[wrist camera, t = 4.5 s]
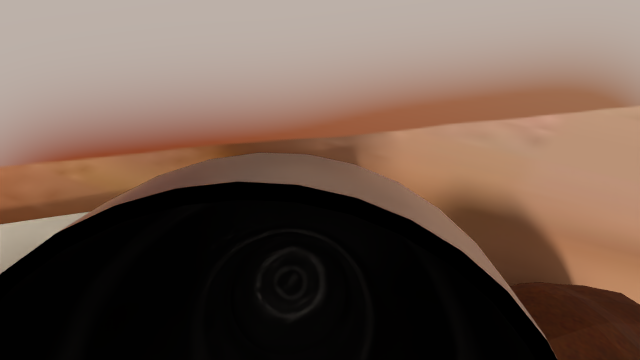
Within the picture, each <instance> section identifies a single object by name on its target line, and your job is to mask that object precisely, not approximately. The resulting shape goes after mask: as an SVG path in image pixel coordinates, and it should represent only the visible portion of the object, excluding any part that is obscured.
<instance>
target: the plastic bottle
mask: <svg viewBox="0 0 640 360" xmlns="http://www.w3.org/2000/svg"><path fill="white" fill-rule="evenodd" d="M0 360H558V359H557V357H556V356H555V354H554V352H553V350H552V348H551V346H550V345H549V343H548V341H547V339H546V337H545V335H544V334H543V332H542V331H541V330H540V328H539V327H538V325H537V324H536V323H535V321H534V320H533V318H532V317H531V316H530V314H529V313H528V312H527V310H526V309H525V307H524V306H523V305H522V303H521V302H520V300H519V299H518V298H517V296H516V295H515V293H514V292H513V291H512V289H511V288H510V287H509V285H508V284H507V283H506V281H505V280H504V279H503V277H502V276H501V275H500V273H499V272H498V271H497V270H496V268H495V267H494V266H493V264H492V263H491V262H490V260H489V259H488V258H487V256H486V255H485V254H484V253H483V251H482V250H481V249H480V247H479V246H478V245H477V243H476V242H474V241H473V240H472V239H471V238H470V237H469V236H468V235H467V234H466V233H465V232H464V231H463V230H462V229H460V228H459V227H458V226H457V225H456V224H455V223H454V222H453V221H452V220H451V219H450V218H449V217H448V216H446V215H445V214H444V213H443V212H442V211H441V210H440V209H439V208H437V207H436V206H434V205H433V204H431V203H429V202H428V201H426V200H425V199H423V198H422V197H420V196H419V195H417V194H415V193H414V192H412V191H411V190H409V189H408V188H406V187H405V186H403V185H401V184H400V183H398V182H396V181H394V180H391V179H389V178H386V177H384V176H381V175H379V174H377V173H374V172H372V171H369V170H367V169H365V168H362V167H360V166H357V165H355V164H351V163H346V162H341V161H337V160H332V159H328V158H323V157H318V156H314V155H309V154H285V153H253V154H246V155H239V156H232V157H225V158H218V159H211V160H207V161H204V162H200V163H197V164H194V165H191V166H188V167H185V168H181V169H178V170H175V171H172V172H169V173H166V174H163V175H159V176H157V177H155V178H153V179H151V180H149V181H147V182H145V183H143V184H141V185H139V186H137V187H135V188H133V189H131V190H129V191H127V192H125V193H123V194H121V195H119V196H117V197H115V198H113V199H111V200H109V201H107V202H105V203H104V204H102V205H101V206H99V207H97V208H96V209H94V210H93V211H91V212H89V213H88V214H86V215H84V216H83V217H81V218H80V219H78V220H76V221H75V222H73V223H72V224H70V225H68V226H67V227H65V228H63V229H62V230H60V231H59V232H57V233H55V234H54V235H53V236H51V237H50V238H49V239H47V240H46V241H44V242H43V243H42V244H40V245H39V246H38V247H36V248H35V249H34V250H32V251H31V252H29V253H28V254H27V255H25V256H24V257H23V258H21V259H20V260H18V261H17V262H16V263H14V264H13V265H12V266H10V267H9V268H7V269H6V270H5V271H3V272H2V273H1V274H0Z"/></svg>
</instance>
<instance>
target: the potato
mask: <svg viewBox="0 0 640 360" xmlns="http://www.w3.org/2000/svg"><path fill="white" fill-rule="evenodd" d="M510 288H511V289H512V291H513V292H514V293H515V295H516V296H517V298H518V299H519V300H520V302H521V303H522V305H523V306H524V307H525V309H526V310H527V312H528V313H529V314H530V316H531V317H532V318H533V320H534V321H535V323H536V324H537V325H538V327H539V328H540V330H541V331H542V332H543V334H544V335H545V337H546V339H547V341H548V343H549V345H550V346H551V348H552V350H553V352H554V354H555V356H556V357H557V359H558V360H640V305H639V304H638V303H636V302H635V301H633V300H631V299H630V298H628V297H626V296H625V295H623V294H622V293H618V292H613V291H608V290H603V289H598V288H593V287H588V286H581V285H562V284H551V283H541V282H537V283H525V284H518V285H514V286H510Z"/></svg>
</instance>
